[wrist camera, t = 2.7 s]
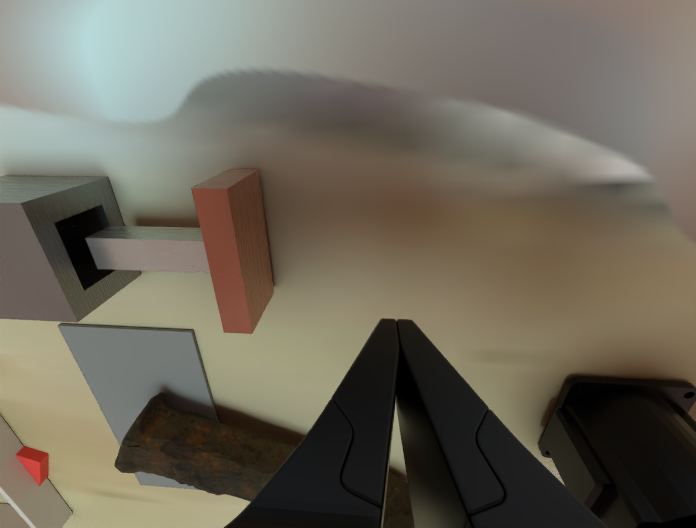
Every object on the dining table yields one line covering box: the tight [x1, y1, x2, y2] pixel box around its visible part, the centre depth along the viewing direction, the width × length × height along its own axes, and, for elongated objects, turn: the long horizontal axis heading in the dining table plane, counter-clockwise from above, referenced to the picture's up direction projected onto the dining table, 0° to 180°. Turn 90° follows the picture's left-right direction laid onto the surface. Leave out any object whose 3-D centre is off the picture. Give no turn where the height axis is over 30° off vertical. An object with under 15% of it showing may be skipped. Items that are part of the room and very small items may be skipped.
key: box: [85, 169, 274, 334], centre depth 14 cm, size 7×6×3 cm
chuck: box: [0, 176, 141, 322], centre depth 14 cm, size 5×5×4 cm
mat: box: [58, 324, 219, 490], centre depth 22 cm, size 8×16×1 cm, turn 0°
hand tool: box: [115, 392, 415, 528], centre depth 20 cm, size 19×4×5 cm, turn 65°
